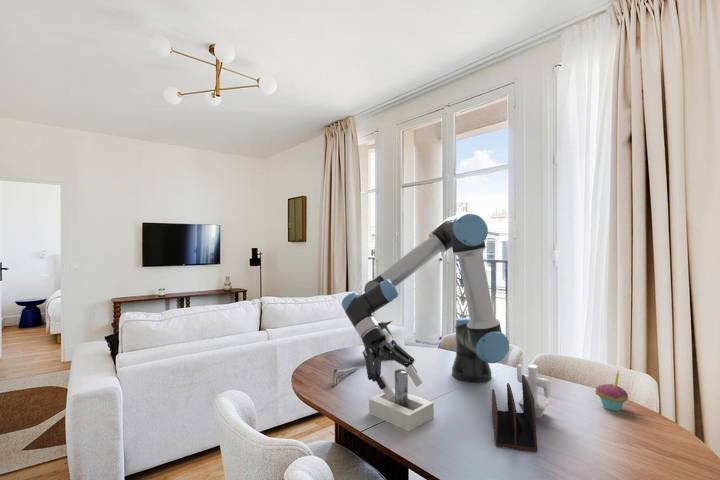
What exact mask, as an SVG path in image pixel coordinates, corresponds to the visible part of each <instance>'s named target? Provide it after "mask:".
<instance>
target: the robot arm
mask: <svg viewBox="0 0 720 480" xmlns="http://www.w3.org/2000/svg"><path fill="white" fill-rule="evenodd" d="M488 233H489V229H488V224H487V223H486V221H485V220H484V218H483V217H482V216H480V215H478V214H476V213H472V212H471V213H470V212H466V213H465V212H464V213H461V214H456V215H452V216H450V217H448V218H446V219H444V221H442V222H441V223H440V224H438V225H437V227H435V228H434V229H433V230H432V231H431V232H429V233H428V237H427V238H426V239H424V240H423V241H422V242H421V243H419V244H418V245H416V246H415V247H414V248H413V249H412V250H410V251H408V252H407V253H406V254H405V255H404V256H402V257H401V258H400V259H399V260H397V261H396V262H395V263H393V264H392V265H391V266H389V267H388V268H387V269H386V270H384V271H383V272H382V273H380V274H379V275H378V276H376V277H375V278H374V279H372V280H369V281H367V282H366V284H364V289H363V291H364V293H362V294H360V293H358V292H352V293H349V294H347V295H346V296H344V298H343V299H342V301H341V307H342V309H343V311H344V313H345V315H346V316H347V318H348V320H349V321H350V323H351V324H352V326H353V327H354V330H355V331H356V333H357V335H358V336H359V338H362V339H361V341H362V344H363V343H364V344H363V346H364V345H365V346H366V349H365V348H364V350H363V351H362V354H363V358H364V360H365V361H364V362H365V368H366V374H367V375H366V376H367V379H368V381H372V382H373V383H374V382H376V383H377V385H378V387H379V389H380V390H381V391H383V392H382V393H385V395H386V397H387V398H388V400H390V399H391V398H392V397H393V396H394V395H395V394H394V392H393V391H392V389H393V388H392V387H391V386H390V384H389V382H388V381H387V379H386V377H385V375H382V374H381V373H382V371H381V370H382V360H384V359H383V358H392V359H393V361H395V362H397V363H399V364H400V365H402V366H404V367H405V369H404V370H406V371H407V372H408V377H409V378H410V379H411V381H412V382H413V384H414V385H415V387H416V388H419V386H421V385H422V384H423V383H424V382H423V380H422V379H421V377H420V376H419V374H418V371H417V370H416V368H415V367H414V365H413V364H414V362H415V358H414V357H413V356H411V355H410V354H409V353H408V352H406V351H405V350H404V349H403V348H402V347H401V346H400V345H399V344H398V343H397V342H396V341H395V340H394V339H392V340H391V341H390V342H388V341H387V337H386V334H385V332H384V330H382V329H381V328H379V324H378V323H379V322H378V321H377V320H376V318H375V317H374V316H373V314H374V313H375V312H376V311H378V310H380V309H382V308H383V307H385V306H386V305H389V303H392V302H393V301H394V300H395V299H396V298H398V296H399V293H398V290H397V288H396V287H398V286H399V285H400V284H402V283H403V282H404V281H405V280H406V279H408V278H410V276H412V275H413V274H414V273H415V272H418V270H419V269H421V268H422V267H423V266H425V265H426V264H427V263H428V262H429V261H431V260H432V259H433V258H435V257H436V256H438V255H439V254H440V253H446V252H447V251H448V250H450V249H452V253H453V254H454V255H456V256H457V257H458V263H459V267H460V273H461V274H460V275H461V278H462V284H463V288H464V295H465V300H466V301H465V302H466V306H467V311H468V316H469V317H460V318H456V321H455V326H454V327H455V351H456V352H455V357H454V362H453V364H452V367H451V374H452V376H453V377H454V378H455V379H458V380H460V381H463V382H471V383H482V382H487V381H489V380H491V379H492V370H491V367H490V364H498V363H499V362H501V361H503V360H504V359H505V358H506V356H507V355H508V354H509V351H510V342H509V339H508V337H507V335H505V334H504V333H503V332H502V327H501V321H500V320H498V319H497V318H496V317H495V314H494V309H493V303H492V298H491V294H490V293H491V292H490V286H489V281H488V277H487V271H486V266H485V260H484V255H483V252H484V251H485V249H486V248H487V247H486V238H487V237H488ZM372 355H374V361H373V358H372Z"/></svg>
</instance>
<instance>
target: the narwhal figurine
mask: <svg viewBox="0 0 720 480" xmlns="http://www.w3.org/2000/svg"><path fill="white" fill-rule="evenodd" d="M392 322H393V320H390V321H388V322H384V321H380V322H377V323H378V324H379V328H381V329H382V331H384V330H385V331H387V333H388V334H389V335H390V336H391V337H393V335H392V333H391V331H390V329H389V327H388V326H389V324H391V323H392ZM361 340H362V338H361ZM362 344H363V347H364V350H365V349H366V346H365V345H364V343H363V342H362ZM372 358H373V362H374V355H372ZM382 360H389V361H391V360H393V359H392V358H383V359H382ZM393 361H394V360H393Z"/></svg>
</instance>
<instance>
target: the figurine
mask: <svg viewBox="0 0 720 480" xmlns="http://www.w3.org/2000/svg"><path fill="white" fill-rule="evenodd" d="M527 372H528V374H525V373H524V366H523V365H522V364H520V363H519V364H517V365H516V378H517V382H519V383H521V384H522V375H524V376H525V377H526V379H527V382H528V384H529V386H530V389H531V392H532V395H533V398H534V404H535V419H536V418H537V419H539V420H540V419H541V417H542V416H543V415H544V413H545V411H546V409H547V407H548V405H549V403H550V400H546V399H543V398H539V388H542V389H543V393H544V394H543V395H544V398H547V399H548V398H549V399H550V398H551V382H550V380H549V379H548V378H543V377H539V366H538V365H537V364H533V363H530V364H527ZM517 404H518V405H519V407H520V409H521V410H522V413H524V408H523V397H522V398H520V400H519V401H518V402H517Z"/></svg>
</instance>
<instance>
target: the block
mask: <svg viewBox="0 0 720 480" xmlns="http://www.w3.org/2000/svg"><path fill="white" fill-rule="evenodd" d="M391 389H392V391H393V392H394V394H395V387H393V388H391ZM434 405H435V404H434V402H433V401H430V400H428V399H425V398H423V397H420V396H416V395H414V394H411V393H408V408H405V407H403V406H400V405H398V404H395V395H394V396H393V397H392V398H391V399H390V400H388V398H387V397H386V395H385V393H384V392H382V393H379V394H377V395H375V396H372V397H370V398H368V414H370V415H372V416H374V417H377V418H379V419H381V420H383V421H385V422H387V423H389V424H392V425H393V426H396V427H398V428H400V429H402V430H405V431H406V432H411V431H413V430H415V429H417V428H418V427H419V426H421V425H423V424H425V423H426V422H428V421H430V420H432V419H433V418H435V417H434V415H435V414H434V413H435V412H434V411H435V409H434V407H435V406H434Z"/></svg>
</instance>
